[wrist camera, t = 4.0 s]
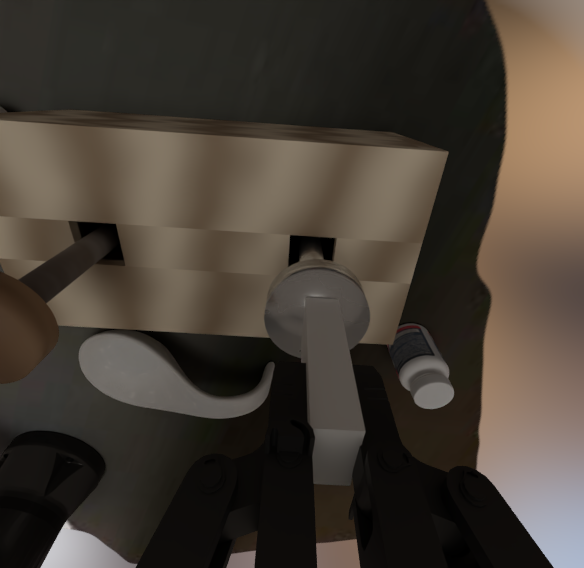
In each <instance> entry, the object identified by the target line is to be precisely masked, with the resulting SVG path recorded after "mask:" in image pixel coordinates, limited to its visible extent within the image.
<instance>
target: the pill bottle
mask: <svg viewBox="0 0 584 568" xmlns="http://www.w3.org/2000/svg"><path fill="white" fill-rule="evenodd" d="M387 347H388V350H389V353H390V355H391V358H392V361H393V364H394V366H395V369H396V372H397V375H398V377H399V380H400V382H401V384H402V385H403V386H404V387H405V388H406V389H407V390H409V391H410V392H411V395H412V397H413V399H414V401H415V403H416V404H417V405H418V406H420V407H422V408H426V409H435V408H439V407H442V406H444V405H446V404H447V403H449V402H450V401H451V400H452V398H453V396H454V390H453V387H452V385H451V383H450V381H449V379H448V377H449V368H448V366H447V364H446V362H445V360H444V358H443V357H442V355H441V353H440V351H439V350H438V348H437V346H436V344H435V343H434V341H433V339H432V337H431V335H430V334H429V332H428V331H427V329H426V328H424V327H423V326H421V325H418V324H414V323H408V324H403V325H400V326H398V328H397V332H396V335H395V339H394V342H393V345H387Z"/></svg>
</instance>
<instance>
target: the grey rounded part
mask: <svg viewBox="0 0 584 568" xmlns="http://www.w3.org/2000/svg"><path fill="white" fill-rule="evenodd" d="M306 297H308V298H324V299H339V302H340V307H341V312H342V317H343V322H344V327H345V332H346V337H347V342H348V347H349V350H350V349H352V348H353V347H354V346H356V345H357V344H358V343H359V342H360V341H361V339H362V338H363V337H364V335H365V333H366V331H367V329H368V326H369V322H370V310H369V305H368V302H367V300H366V297H365V294H364V291H363V288H362V285H361V283H360V281H359V280H358V278H357V277H356V276H355V275H354V274H353V273H352V272H351V271H350V270H349V269H348V268H346V267H344V266H343V265H341V264H338V263H336V262H333V261H329V260H324V257H323V251H322V245H321V239H320V237H314V236H299V262H298V263H295V264H293V265H291V266H289V267H287V268H286V269H284V270H283V271H282V272H281V273H279V274H278V275H277V277H276V278H275V279H274V280H273V282H272V284H271V286H270V288H269V291H268V294H267V301H266V307H265V315H264V323H265V327H266V330H267V333H268V335H269V337H270V338H271V340H272V341H273V342H274V343H275V344H276V345H277V346H278V347H279V348H280V349H282V350H283V351H285V352H286V353H288V354H290V355H293V356H296V357H299V358H301V339H302V329H303V319H304V309H305V299H306Z"/></svg>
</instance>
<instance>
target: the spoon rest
mask: <svg viewBox="0 0 584 568" xmlns="http://www.w3.org/2000/svg"><path fill="white" fill-rule="evenodd" d="M79 363H80V366H81V369H82V372H83V373H84V375H85V376H86V378H87V379H88V380H89V381H90V382H91V384H92V385H94V386H95V387H96V388H97V389H98V390H100V391H101V392H103V393H104V394H106V395H108V396H110V397H112V398H114V399H116V400H119V401H121V402H124V403H128V404H131V405H135V406H141V407H146V408H153V409H159V410H165V411H171V412H177V413H182V414H188V415H193V416H199V417H206V418H217V419H221V418H232V417H237V416H241V415H245V414H247V413H250V412H252V411H254V410H255V409H256V408H258V407H259V406H260V405H261V404H262V403H263V402H264V401H265V399H266V397H267V395H268V393H269V389H270V385H271V381H272V377H273V371H274V367H275V364H274V362H269V363H268V364H267V365H266V367H265V369H264V372H263V376H262V379H261V381H260V383H259V384H258V385H257V386H256V387H255V388H254V389H253V390H251V391H250V392H247V393H245V394H242V395H237V396H229V397H222V396H215V395H211V394H208V393H206V392H204V391H202V390H201V389H199V388H198V387H197V386H196V385H194V384H193V383H192V382H191V381H190V379H189V378H188V377H187V376H186V374H185V373H184V372H183V370H182V369H181V368H180V366H179V365H178V363H177V362H176V360H175V359H174V357H173V356H172V354H171V353H170V352H169V351H168V349H167V348H166V347H165V346H164V345H163V344H161V343H160V342H159V341H157V340H155V339H154V338H152V337H150V336H148V335H146V334H144V333H141V332H137V331H132V330H110V331H105V332H101V333H98V334H95V335H93V336H91V337H89V338H88V339H86V340H85V341H84V342H83V344H82V345H81V347H80V350H79Z"/></svg>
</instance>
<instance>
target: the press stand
mask: <svg viewBox="0 0 584 568" xmlns="http://www.w3.org/2000/svg"><path fill="white" fill-rule="evenodd" d="M447 156H448V151H445V150H442V149H439V148H436V147H433V146H431V145H428V144H425V143H422V142H419V141H416V140H413V139H410V138H408V137H405V136H402V135H399V134H396V133H393V132H381V131H367V130H353V129H339V128H325V127H311V126H297V125H283V124H269V123H255V122H241V121H227V120H213V119H199V118H185V117H170V116H156V115H142V114H128V113H114V112H100V111H86V110H72V109H71V110H49V111H27V112H5V113H0V263H1V266H2V268H3V270H4V272H5V274H7V275H9V276H11V277H13V278H15V279H17V280H18V279H20V278H21V277H23V276H25V275H26V274H28V273H29V272H31V271H32V270H34V269H35V268H37V267H38V266H40V265H42V264H43V263H45V262H46V261H48V260H49V259H51V258H52V257H54V256H55V255H57V254H59V253H60V252H62V251H63V250H65V249H66V248H68V247H69V246H71V245H72V244H74V243H76V242H77V241H79V240H80V239H82V238H83V237H85V236H86V235H88V234H89V233H91V232H93V231H94V230H96V229H97V228H99V227H100V226H102V225H103V224H105V223H112V224H116V226H117V231H118V235H119V239H120V244H121V247H117V246H116V247H115V248H114V249H113V250H111V251H110V252H109V253H108V254H106V255H105V256H104V257H103V258H101V259H100V260H99V261H98V262H97V263H95V264H94V265H93V266H92V267H90V268H89V269H88V270H87V271H86V272H84V273H83V274H82V275H81V276H79V277H78V278H77V279H76V280H74V281H73V282H72V283H71V284H70V285H68V286H67V287H66V288H65V289H63V290H62V291H61V292H60V293H59V294H57V295H56V296H55V297H54V298H52V299H51V300H50V301H49V302H47V303H46V304H47V305H48V306H49V308H50V309H51V311H52V312H53V314H54V316H55V318H56V321H57V324H58V325H60V326H77V327H94V328H111V329H129V330H146V331H163V332H180V333H197V334H215V335H232V336H249V337H266V338H270V337H269V335H268V333H267V330H266V327H265V323H264V315H265V307H266V301H267V294H268V291H269V288H270V286H271V284H272V282H273V280H274V279H275V278H276V277H277V275H278V274H279V273H281V272H282V271H283V270H284V269H286V268H287V267H289V266H291V265H293V264H295V263H298V262H299V258H289V244H290V235H298V236H314V237H329V238H335V241H334V248H333V256H332V260H329V261H333V262H336V263H338V264H341V265H343V266H344V267H346V268H348V269H349V270H350V271H351V272H352V273H353V274H354V275H355V276H356V277H357V278H358V280H359V281H360V283H361V285H362V288H363V291H364V294H365V297H366V300H367V302H368V305H369V310H370V322H369V326H368V329H367V331H366V333H365V335H364V337H363V338H362V339H361V341H360V342H359V343H370V344H387V345H393V342H394V339H395V335H396V332H397V328H398V325H399V321H400V318H401V315H402V311H403V308H404V304H405V301H406V297H407V294H408V290H409V287H410V284H411V280H412V277H413V273H414V270H415V266H416V263H417V259H418V256H419V252H420V249H421V246H422V242H423V239H424V235H425V232H426V228H427V225H428V221H429V218H430V214H431V211H432V208H433V204H434V201H435V197H436V194H437V190H438V187H439V183H440V180H441V177H442V173H443V170H444V166H445V163H446V159H447Z"/></svg>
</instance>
